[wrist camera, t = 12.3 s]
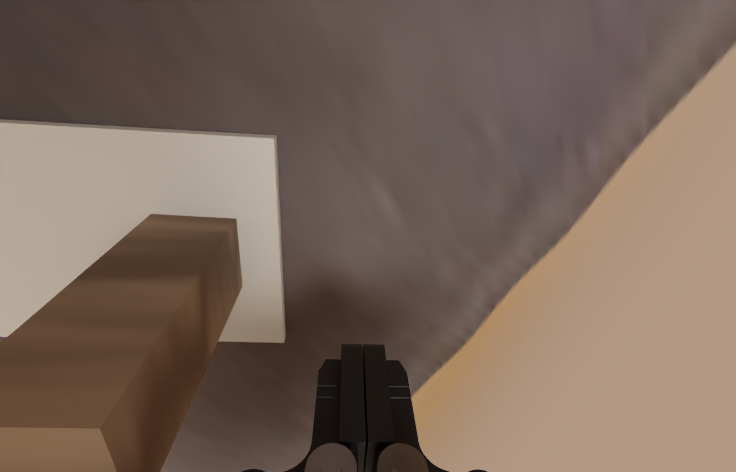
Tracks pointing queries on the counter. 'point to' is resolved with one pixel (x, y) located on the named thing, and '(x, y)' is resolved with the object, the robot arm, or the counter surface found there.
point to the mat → (133, 208)
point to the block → (119, 351)
